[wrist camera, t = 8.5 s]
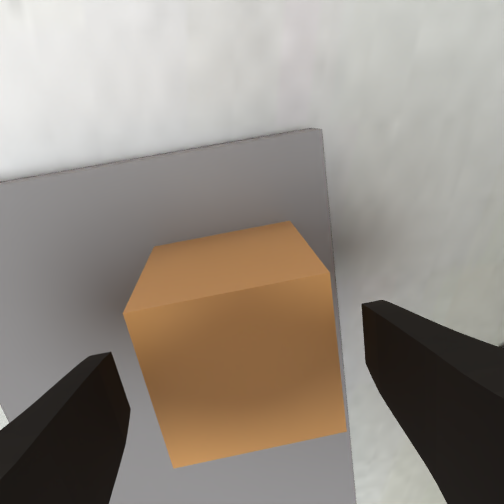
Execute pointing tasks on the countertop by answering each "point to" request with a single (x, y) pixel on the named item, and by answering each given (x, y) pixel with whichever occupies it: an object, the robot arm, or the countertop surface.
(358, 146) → the countertop surface
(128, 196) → the board
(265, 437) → the wooden cube
